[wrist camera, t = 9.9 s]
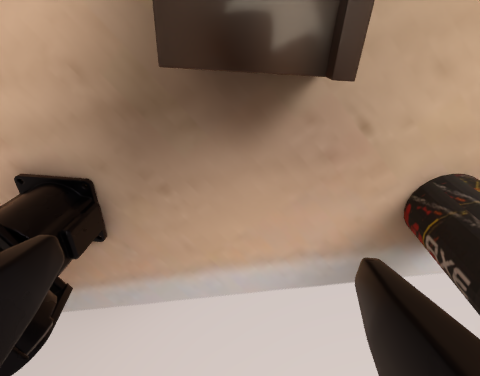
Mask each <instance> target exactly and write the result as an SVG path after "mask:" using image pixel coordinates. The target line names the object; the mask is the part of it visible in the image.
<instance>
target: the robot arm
mask: <svg viewBox="0 0 480 376" xmlns="http://www.w3.org/2000/svg"><path fill="white" fill-rule="evenodd" d="M14 180H15V183H16V185H17V188H18V190H19V192H20V194H19V195H18V196H16V197H14V198H13V199H11V200H10V201H8V202H7V203H5V204H3V205H2V206H0V376H11V375H13V374H14V373H15V372H17V371H18V370H19V369H21V368H22V367H23V366H24V365H25V364H26V363H27V362H29V361H30V360H31V359H32V357H34V356H35V354H36V353H37V352H38V351H39V350H40V349H41V347H42V346H43V345H44V344H45V342H46V341H47V339H48V338H49V336H50V334H51V332H52V330H53V328H54V326H55V324H56V322H57V320H58V318H59V316H60V314H61V312H62V310H63V308H64V306H65V304H66V302H67V300H68V298H69V295H70V293H71V291H72V289H73V288H72V287H71V286H70V285H69V284H68V283H67V284H66V283H65V282H64V281H63V280H62V279H60V278H59V277H58V276H59V275H60V274H61V272H62V271H63V270H64V269H65V268H66V267H67V265H68V264H69V263H70V262H71V261H72V260H73V259H78V258H79V257H80V256H81V254H82V253H83V252H84V251H85V250H86V249H87V247H88V246H89V245H90V244H91V243H92V241H96V242H103V241H104V240H105V239H106V237H107V234H106V231H105V225H104V221H103V217H102V214H101V210H100V206H99V204H98V200H97V196H96V193H95V189H94V185H93V183H92V181H91V180H89V179H84V178H71V177H58V176H44V175H31V174H19V175H17V176H16V177H15V178H14ZM85 184H86V185H87V186H86V185H85ZM100 236H101V237H100ZM355 287H356V292H357V296H358V301H359V305H360V310H361V315H362V319H363V324H364V328H365V332H366V336H367V340H368V343H369V347H370V350H371V353H372V356H373V359H374V362H375V365H376V368H377V371H378V374H379V376H480V339H479V338H478V337H476V336H475V335H474V334H473V333H471V332H470V331H469V330H468V329H466V328H465V327H464V326H463V325H461V324H460V323H459V322H458V321H456V320H455V319H454V318H452V317H451V316H450V315H449V314H448V313H446V312H445V311H444V310H443V309H441V308H440V307H439V306H437V305H436V304H435V303H434V302H432V301H431V300H430V299H429V298H428V297H426V296H425V295H424V294H423V293H421V292H420V291H418V290H417V289H416V288H415V287H414V286H412V285H411V284H410V283H409V282H407V281H406V280H405V279H404V278H402V277H401V276H400V275H399V274H397V273H396V272H395V271H394V270H392V269H391V268H390V267H389V266H387V265H386V264H385V263H384V262H382V261H381V260H380V259H377V258H363V259H362V261H361V263H360V266H359V269H358V271H357V274H356V277H355Z"/></svg>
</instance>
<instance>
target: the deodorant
mask: <svg viewBox="0 0 480 376" xmlns="http://www.w3.org/2000/svg"><path fill="white" fill-rule="evenodd" d="M404 219H405V222H406V224H407V226H408V227H409V228H410V229H411V231H412V232H413V233H414V234H415V236H416V237H417V238H418V239H419V240H420V242H421V243H422V244H423V245H424V247H425V248H426V249H427V250H428V252H429V253H430V254H431V255H432V257H433V258H434V259H435V260H436V262H437V263H438V264H439V265H440V267H441V268H442V269H443V270H444V272H445V273H446V274H447V275H448V276H449V278H450V279H451V280H452V281H453V283H454V284H455V285H456V286H457V288H458V289H459V290H460V291H461V293H462V294H463V295H464V296H465V298H466V299H467V300H468V301H469V303H470V304H471V305H472V306H473V308H474V309H475V310H476V311H477V312H478V314H479V315H480V181H479V180H478V179H476V178H474V177H472V176H469V175H465V174H451V175H446V176H441V177H438V178H436V179H433V180H431V181H429V182H427V183H426V184H424V185H423V186H421V187H420V188H419V189H418V190H417V191H415V192H414V193H413V194H412V196H411V197H410V199H409V200H408V201H407V204H406V206H405V209H404Z"/></svg>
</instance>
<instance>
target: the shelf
mask: <svg viewBox="0 0 480 376" xmlns="http://www.w3.org/2000/svg"><path fill="white" fill-rule="evenodd" d="M374 1H375V0H153V11H154V21H155V32H156V42H157V52H158V63H159V67H166V68H183V69H200V70H217V71H233V72H250V73H267V74H284V75H301V76H318V77H327V78H329V79H331V80H337V81H355V77H356V73H357V69H358V65H359V61H360V57H361V53H362V49H363V45H364V41H365V37H366V33H367V29H368V25H369V21H370V17H371V13H372V9H373V5H374Z"/></svg>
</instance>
